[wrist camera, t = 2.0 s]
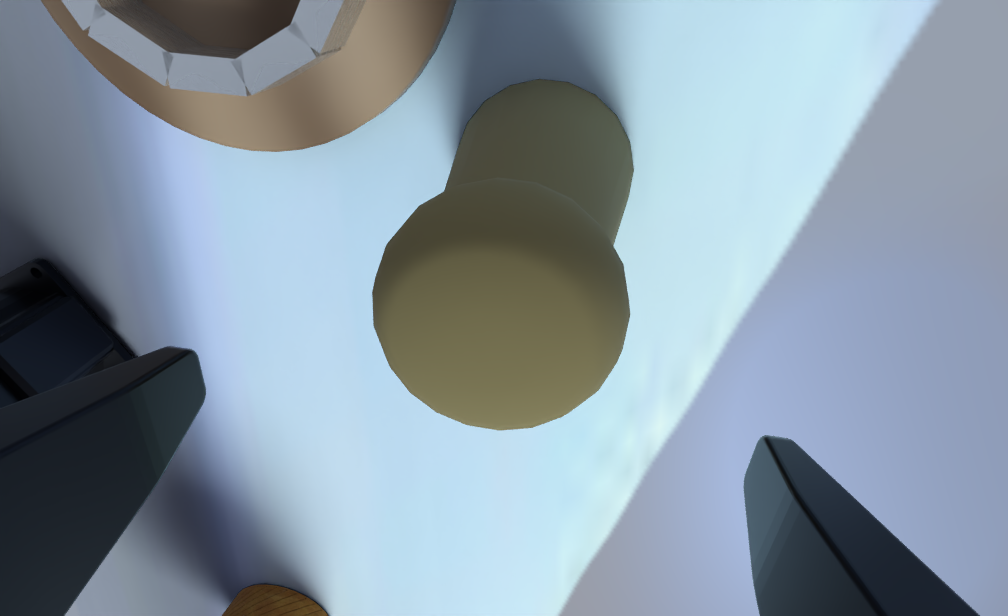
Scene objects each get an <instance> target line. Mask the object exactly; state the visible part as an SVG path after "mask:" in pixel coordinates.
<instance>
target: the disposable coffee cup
mask: <svg viewBox="0 0 1008 616" xmlns="http://www.w3.org/2000/svg"><path fill="white" fill-rule="evenodd" d="M222 616H328V615H327V613H326V612H325V611H324V610H323V609H322V608H321V607H320V606H319V605H318V604H317V603H315V602H314V601H313V600H311V599H310V598H308V597H306V596H304V595H302V594H300V593H298V592H296V591H294V590H291V589H288V588H285V587H280V586H276V585H267V584H264V585H253V586H249V587H247V588H244V589H243V590H242V591H240V592H239V593H238V594H237V596H236V598H235V599H234V600H233V601H232V603H231V604H230V605H229V607H228V608H227V609H226V611H225V612H224V613H223V615H222Z"/></svg>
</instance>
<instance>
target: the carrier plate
mask: <svg viewBox="0 0 1008 616" xmlns="http://www.w3.org/2000/svg"><path fill="white" fill-rule="evenodd" d="M41 1H42V3H43V4H44V6H45V7H46V9H47V10H48V12H49V13H50V15H51V16H52V18H53V19H54V21H55V22H56V23H57V24H58V26H59V27H60V28H61V29H62V31H63V32H64V33H65V34H66V36H67V37H68V38H69V39H70V41H71V42H72V43H73V44H74V46H75V47H76V48H77V49H78V50H79V51H80V52H81V53H82V54H83V55H84V57H85V58H86V59H87V60H88V61H89V62H90V63H91V64H92V65H93V66H94V67H95V68H96V69H97V70H98V71H99V72H100V73H101V74H102V75H103V76H104V77H105V78H107V79H108V80H109V81H110V82H111V83H112V84H113V85H115V86H116V87H117V88H118V89H119V90H120V91H121V92H122V93H124V94H125V95H126V96H128V97H129V98H130V99H132V100H133V101H135V102H136V103H137V104H139V105H140V106H142V107H143V108H144V109H146V110H147V111H148V112H150V113H152V114H154V115H155V116H157V117H159V118H160V119H162V120H164V121H166V122H167V123H169V124H171V125H172V126H174V127H177V128H179V129H181V130H183V131H185V132H188V133H190V134H192V135H194V136H197V137H199V138H202V139H205V140H208V141H211V142H215V143H218V144H221V145H224V146H229V147H234V148H240V149H245V150H251V151H271V152H279V151H290V150H300V149H305V148H309V147H313V146H317V145H321V144H325V143H328V142H330V141H332V140H335V139H337V138H339V137H342V136H344V135H346V134H349V133H350V132H352V131H354V130H355V129H357V128H358V127H360V126H362V125H363V124H365V123H367V122H368V121H370V120H371V119H373V118H374V117H376V116H378V115H379V114H381V113H382V112H384V111H385V110H386V109H387V108H388V107H389V106H391V105H392V104H393V103H394V102H395V101H396V100H398V99H399V98H400V97H401V96H402V95H403V94H404V93H405V92H406V91H407V89H408V88H409V87H410V86H411V85H412V84H413V83H414V81H415V80H416V79H417V78H418V77H419V76H420V74H421V73H422V71H423V70H424V68H425V67H426V65H427V64H428V62H429V60H430V59H431V57H432V56H433V54H434V53H435V51H436V49H437V47H438V45H439V43H440V41H441V39H442V36H443V34H444V32H445V30H446V28H447V26H448V24H449V21H450V18H451V15H452V12H453V9H454V6H455V3H456V0H366V2H365V4H364V6H363V8H362V10H361V13H360V15H359V17H358V19H357V21H356V23H355V25H354V28H353V30H352V32H351V34H350V36H349V38H348V40H347V42H346V45H345V46H343V47H340V48H341V50H340V51H339V52H337V53H335V54H333V55H332V56H330V57H328V58H327V59H325V60H323V61H321V62H320V63H318V64H316V65H314V66H313V67H311V68H309V69H308V70H306V71H304V72H302V73H301V74H299V75H297V76H295V77H294V78H292V79H290V80H289V81H287V82H285V83H283V84H282V85H279V86H276V87H274V88H271V89H268V90H265V91H263V92H260V93H257V94H254V95H249V96H238V95H229V94H219V93H210V92H200V91H191V90H181V89H172V88H170V86H169V85H167V86H163V85H162V84H160V83H159V82H157V81H156V80H154V79H153V78H151V77H150V76H148V75H147V74H145V73H144V72H142V71H141V70H139V69H138V68H136V67H135V66H133V65H132V64H130V63H129V62H127V61H126V60H124V59H123V58H121V57H120V56H118V55H117V54H115V53H114V52H112V51H111V50H109V49H108V48H106V47H105V46H103V45H102V44H100V43H99V42H97V41H96V40H94V39H93V38H91V37H90V36H88V34H89V30H84V31H83V30H82V28H81V27H80V26H79V24H78V23H77V21H76V20H75V19H74V17H73V16H72V14H71V13H70V12H69V10H68V9H67V8H66V6H65V5H64V3H63V2H62V1H61V0H41ZM142 1H143V2H144V4H145V5H147V6H148V7H150V8H151V9H153V10H154V11H156V12H157V13H159V14H160V15H162V16H163V17H164V18H166V19H167V20H169V21H170V22H172V23H173V24H175V25H176V26H178V27H179V28H181V29H182V30H183V31H185V32H186V33H188V34H189V35H191V36H192V37H194V38H195V39H197V40H198V41H200V42H201V43H202V44H204V45H208V46H218V47H228V48H239V49H249V50H251V49H252V48H254V47H255V46H257V45H259V44H260V43H262V42H263V41H265V40H267V39H268V38H270V37H272V36H273V35H275V34H276V33H278V32H280V31H281V30H283V29H284V28H286V27H288V26H289V25H290V24H291V22H292V20H293V17H294V15H295V12H296V10H297V7H298V5H299V3H300V0H142Z"/></svg>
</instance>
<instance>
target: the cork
mask: <svg viewBox="0 0 1008 616" xmlns="http://www.w3.org/2000/svg"><path fill="white" fill-rule="evenodd" d="M633 172H634V169H633V161H632V153H631V146H630V141H629V139H628V137H627V135H626V133H625V131H624V129H623V127H622V125H621V123H620V121H619V119H618V117H617V116H616V115H615V114H614V113H613V112H612V111H611V110H610V109H609V108H608V107H607V106H606V105H605V104H604V103H603V102H602V101H601V100H600V99H599V98H598V97H597V96H596V95H594V94H592V93H590V92H588V91H586V90H584V89H582V88H580V87H577V86H575V85H573V84H571V83H569V82H561V81H552V80H543V79H537V80H532V81H528V82H523V83H519V84H515V85H510V86H508V87H507V88H505V89H504V90H502V91H500V92H499V93H497V94H495V95H494V96H492V97H491V98H489V99H487V100H486V101H485V102H484V103H483V104H482V105H481V107H480V108H479V109H478V110H477V112H476V113H475V114H474V115H473V116H472V118H471V119H470V120H469V121H468V123H467V125H466V128H465V130H464V133H463V136H462V138H461V141H460V144H459V146H458V149H457V152H456V155H455V159H454V162H453V165H452V168H451V171H450V175H449V178H448V181H447V184H446V187H445V190H444V192H443V193H441V194H439V195H437V196H436V197H434V198H432V199H430V200H429V201H427V202H425V203H423V204H422V205H420V206H419V207H418V208H417V209H416V210H415V211H414V213H413V214H412V215H411V216H410V217H409V218H408V220H407V221H406V222H405V223H404V224H403V226H402V227H401V228H400V229H399V230H398V232H397V233H396V234H395V235H394V236H393V238H392V239H391V240H390V241H389V242H388V243H387V245H386V248H385V251H384V254H383V257H382V260H381V263H380V266H379V268H378V271H377V274H376V277H375V282H374V287H373V292H372V295H373V321H374V328H375V330H376V333H377V336H378V338H379V341H380V343H381V346H382V348H383V351H384V354H385V356H386V359H387V361H388V363H389V366H390V368H391V369H392V370H393V371H394V373H395V374H396V375H397V377H398V378H399V379H400V380H401V382H402V383H403V384H404V385H405V387H406V388H407V389H408V391H409V392H410V393H411V394H413V395H414V396H415V397H417V398H418V399H419V400H421V401H422V402H423V403H425V404H426V405H427V406H429V407H430V408H431V409H433V410H434V411H435V412H437V413H440V414H442V415H444V416H447V417H449V418H452V419H454V420H456V421H459V422H461V423H463V424H466V425H470V426H476V427H482V428H488V429H494V430H510V429H523V428H533V427H535V426H538V425H541V424H544V423H546V422H549V421H552V420H555V419H557V418H560V417H562V416H564V415H566V414H567V413H569V412H571V411H572V410H573V409H575V408H576V407H577V406H579V405H580V404H581V403H583V402H584V401H585V400H587V399H588V398H589V397H590V396H592V395H593V394H594V393H596V392H597V391H598V390H599V389H600V387H601V386H602V384H603V383H604V381H605V380H606V378H607V377H608V375H609V374H610V372H611V371H612V369H613V368H614V366H615V365H616V363H617V361H618V358H619V356H620V354H621V352H622V349H623V345H624V340H625V336H626V331H627V327H628V322H629V318H630V308H629V299H628V292H627V286H626V279H625V273H624V266H623V263H622V261H621V260H620V258H619V256H618V254H617V252H616V250H615V249H614V247H613V245H614V242H615V238H616V235H617V232H618V229H619V226H620V223H621V219H622V216H623V213H624V210H625V207H626V204H627V200H628V197H629V192H630V187H631V182H632V177H633Z"/></svg>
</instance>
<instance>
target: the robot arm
mask: <svg viewBox="0 0 1008 616" xmlns="http://www.w3.org/2000/svg"><path fill="white" fill-rule="evenodd" d="M205 395H206V387H205V383H204V379H203V375H202V370H201V366H200V362H199V358H198V355H197V354H196V352H195V351H194V350H192V349H188V348H181V347H175V346H167V347H164V348H161V349H159V350H156V351H153V352H151V353H148V354H145V355H142V356H140V357H137V358H134V359H133V358H132V356H131V355H130V354H129V353H128V352H127V351H126V350H125V348H124V347H123V346H122V345H121V344H120V343H119V342H118V340H117V339H116V338H115V337H114V336H113V335H112V334H111V332H110V331H109V330H108V329H107V328H106V327H105V326H104V324H103V323H102V322H101V321H100V320H99V319H98V318H97V316H96V315H95V314H94V313H93V312H92V311H91V310H90V308H89V307H88V306H87V305H86V304H85V303H84V302H83V300H82V299H81V298H80V297H79V296H78V295H77V294H76V292H75V291H74V290H73V289H72V288H71V287H70V286H69V285H68V283H67V282H66V281H65V280H64V279H63V278H62V277H61V275H60V274H59V273H58V272H57V271H56V270H55V269H54V267H53V266H52V265H51V264H50V263H49V262H48V261H46V260H44V259H40V258H37V259H34V260H32V261H30V262H28V263H26V264H25V265H23V266H21V267H19V268H17V269H15V270H14V271H12V272H10V273H8V274H6V275H5V276H3V277H1V278H0V616H65V614H66V613H67V611H68V610H69V608H70V607H71V606H72V604H73V603H74V601H75V600H76V599H77V597H78V596H79V594H80V593H81V592H82V590H83V589H84V587H85V586H86V584H87V583H88V582H89V580H90V579H91V577H92V576H93V575H94V573H95V572H96V570H97V569H98V567H99V566H100V565H101V563H102V562H103V560H104V559H105V558H106V556H107V555H108V553H109V552H110V550H111V549H112V548H113V546H114V545H115V543H116V542H117V541H118V539H119V538H120V536H121V535H122V534H123V532H124V531H125V529H126V528H127V526H128V525H129V524H130V522H131V521H132V519H133V518H134V517H135V515H136V514H137V512H138V511H139V509H140V508H141V507H142V505H143V504H144V502H145V501H146V500H147V498H148V497H149V495H150V494H151V492H152V491H153V489H154V488H155V486H156V485H157V483H158V482H159V480H160V479H161V477H162V475H163V474H164V472H165V470H166V469H167V467H168V465H169V463H170V462H171V460H172V458H173V456H174V454H175V453H176V451H177V449H178V447H179V446H180V444H181V442H182V440H183V439H184V437H185V435H186V433H187V431H188V430H189V428H190V426H191V424H192V423H193V421H194V419H195V417H196V416H197V414H198V412H199V410H200V408H201V407H202V405H203V403H204V400H205ZM744 497H745V507H746V517H747V527H748V536H749V547H750V556H751V567H752V575H753V583H754V589H755V595H756V600H757V605H758V609H759V614H760V616H980V615H978V613H976V611H975V610H973V609H972V608H971V607H970V606H969V605H968V604H967V603H966V602H965V601H964V600H963V599H962V598H961V597H959V596H958V595H957V594H956V593H955V592H954V591H953V590H952V589H951V588H950V587H949V586H948V585H947V584H945V582H944V581H942V580H941V579H940V578H939V577H938V576H937V575H936V574H935V573H934V572H933V571H932V570H931V569H930V568H929V567H928V566H926V565H925V564H924V563H923V562H922V561H921V560H920V559H919V558H918V557H917V556H915V554H914V553H912V552H911V551H910V550H909V549H908V548H907V547H906V546H905V545H904V544H903V543H902V542H901V541H899V539H898V538H896V537H895V536H894V535H893V534H892V533H891V532H890V531H889V530H888V529H887V528H886V527H885V526H884V525H883V524H882V523H881V522H879V521H878V520H877V519H876V518H875V517H874V516H873V515H872V514H871V513H870V512H869V511H868V510H867V509H866V508H864V507H863V506H862V505H861V504H860V503H859V502H858V501H857V500H856V499H855V498H854V497H853V496H852V495H851V494H850V493H848V492H847V491H846V490H845V489H844V488H843V487H842V486H841V485H840V484H839V483H838V482H837V481H836V480H835V479H833V478H832V477H831V476H830V475H829V474H828V473H827V472H826V471H825V470H824V469H823V468H822V467H821V466H820V465H819V464H817V463H816V462H815V461H814V460H813V459H812V458H811V457H810V456H809V455H808V454H807V453H806V452H805V451H804V450H803V449H801V448H800V447H799V446H798V445H797V444H796V443H795V442H794V441H792V440H791V439H788V438H782V437H775V436H768V435H765V436H762V437H761V438H760V439H759V441H758V443H757V445H756V448H755V450H754V453H753V455H752V458H751V461H750V463H749V466H748V468H747V471H746V474H745V478H744Z"/></svg>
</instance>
